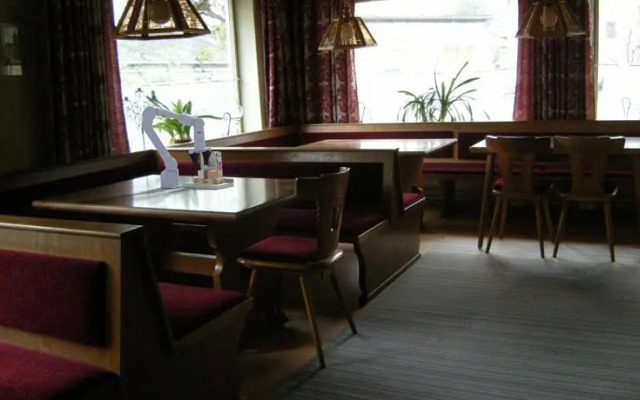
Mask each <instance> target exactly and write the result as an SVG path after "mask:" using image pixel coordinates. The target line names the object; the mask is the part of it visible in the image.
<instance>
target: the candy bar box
mask: <svg viewBox="0 0 640 400" xmlns="http://www.w3.org/2000/svg"><path fill="white" fill-rule="evenodd" d="M210 152H211V155H210V158H209V162H208V165H204V160H203V155H202V152H199V158H200V159H199V160H200V170H206V169H213V170H218V171H219V178H224V177H223V161H222V151H210Z"/></svg>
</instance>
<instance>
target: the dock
mask: <svg viewBox="0 0 640 400" xmlns="http://www.w3.org/2000/svg"><path fill="white" fill-rule="evenodd" d="M224 178H225V183H222V184H206V183H193V181H188V182H184V188H193V187H195V188H194V189H205V188H207V190H208V189H209V190H217V189H218V190H222V189H223V190H224V189H228V188H233V187H235V184H234V183H235V182H234V181H235V180H234V178H230V177H229V178H228V177H227V178H226V177H224ZM232 186H233V187H232Z"/></svg>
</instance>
